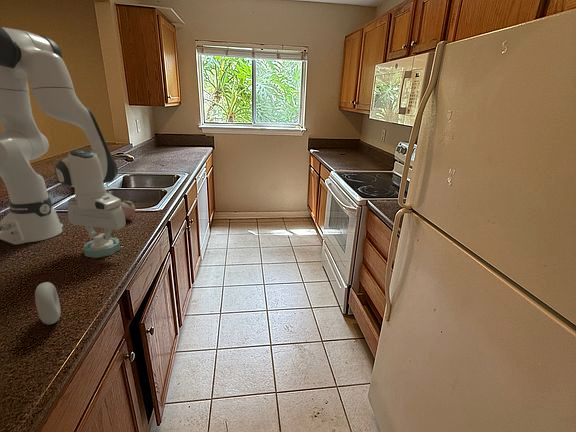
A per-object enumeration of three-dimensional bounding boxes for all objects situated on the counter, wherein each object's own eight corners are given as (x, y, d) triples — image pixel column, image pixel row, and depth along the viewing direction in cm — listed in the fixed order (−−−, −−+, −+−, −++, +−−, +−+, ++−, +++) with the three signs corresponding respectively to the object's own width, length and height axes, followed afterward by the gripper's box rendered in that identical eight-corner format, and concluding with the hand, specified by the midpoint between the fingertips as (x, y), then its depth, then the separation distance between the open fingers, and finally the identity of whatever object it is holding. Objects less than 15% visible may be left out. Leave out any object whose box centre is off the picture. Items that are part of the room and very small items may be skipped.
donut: (46, 311, 79) (35, 276, 75) (62, 307, 81) (53, 273, 77) (42, 335, 71) (31, 298, 68) (61, 330, 73) (50, 293, 69)
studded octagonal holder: (77, 255, 107) (75, 248, 106) (102, 242, 117) (101, 235, 116) (103, 259, 104) (102, 252, 104) (127, 245, 114) (125, 239, 113)
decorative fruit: (109, 224, 133) (105, 201, 129) (117, 217, 140) (113, 196, 137) (133, 223, 134) (129, 201, 130) (139, 217, 141) (135, 195, 138)
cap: (86, 250, 108) (83, 238, 106) (102, 242, 114) (99, 230, 113) (103, 253, 106) (100, 241, 105) (118, 244, 113) (116, 233, 111)
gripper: (58, 199, 104) (68, 238, 108) (110, 205, 99) (118, 245, 104) (75, 194, 109) (83, 231, 114) (125, 200, 105) (131, 237, 109)
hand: (100, 238), depth 109 cm, fingers open, 4 cm apart
